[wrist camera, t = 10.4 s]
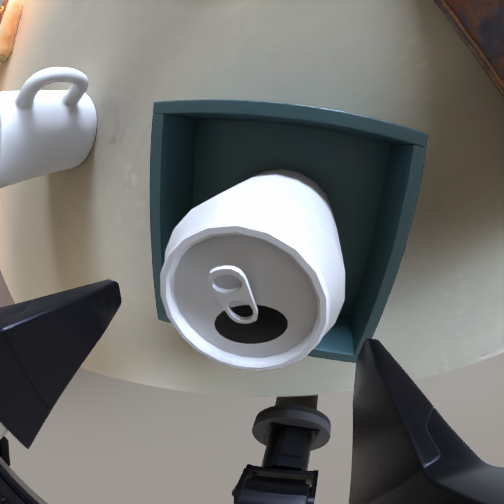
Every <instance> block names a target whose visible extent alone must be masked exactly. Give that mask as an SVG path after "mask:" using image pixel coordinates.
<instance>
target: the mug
mask: <svg viewBox="0 0 504 504" xmlns="http://www.w3.org/2000/svg"><path fill="white" fill-rule="evenodd" d="M54 82H70V83H73V85H72V86H71V88H70V89H69V90H40V89H41V88H42V87H44V86H45V85H47V84H50V83H54ZM87 87H88V79H87V77H86V75H85V74H84V73H82V72H80V71H79V70H76V69H73V68H67V67H53V68H47V69H44V70H41V71H39V72H37V73H35V74H34V75H32V76H31V77H30V78H29V79H28V80H27V81H26V83H25V84H24V85H23V87H22V88H21V90H20V91H6V92H0V188H3V187H5V186H8V185H12V184H15V183H18V182H21V181H24V180H28V179H31V178H35V177H38V176H42V175H45V174H49V173H53V172H58V171H63V170H67V169H71V168H74V167H76V166H78V165H80V164H81V163H82V162H83V161H84V160H85V159H86V157H87V156H88V154H89V152H90V151H91V148H92V146H93V143H94V140H95V135H96V129H97V116H96V110H95V106H94V104H93V102H92V100H91V98H90V97H89V96H88V95H87V94H85V92H86V90H87Z"/></svg>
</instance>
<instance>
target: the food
mask: <svg viewBox="0 0 504 504" xmlns="http://www.w3.org/2000/svg"><path fill="white" fill-rule="evenodd" d="M22 7H23V1H22V0H5V1H4V3H3V5H2V7H1V8H0V9H1V10H0V63H2V62H4V61H5V60H6V59H7V58H8V57H9V56H10V54H11V52H12V48H13V44H14V39H15V35H16V31H17V27H18V23H19V19H20V16H21V12H22Z"/></svg>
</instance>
